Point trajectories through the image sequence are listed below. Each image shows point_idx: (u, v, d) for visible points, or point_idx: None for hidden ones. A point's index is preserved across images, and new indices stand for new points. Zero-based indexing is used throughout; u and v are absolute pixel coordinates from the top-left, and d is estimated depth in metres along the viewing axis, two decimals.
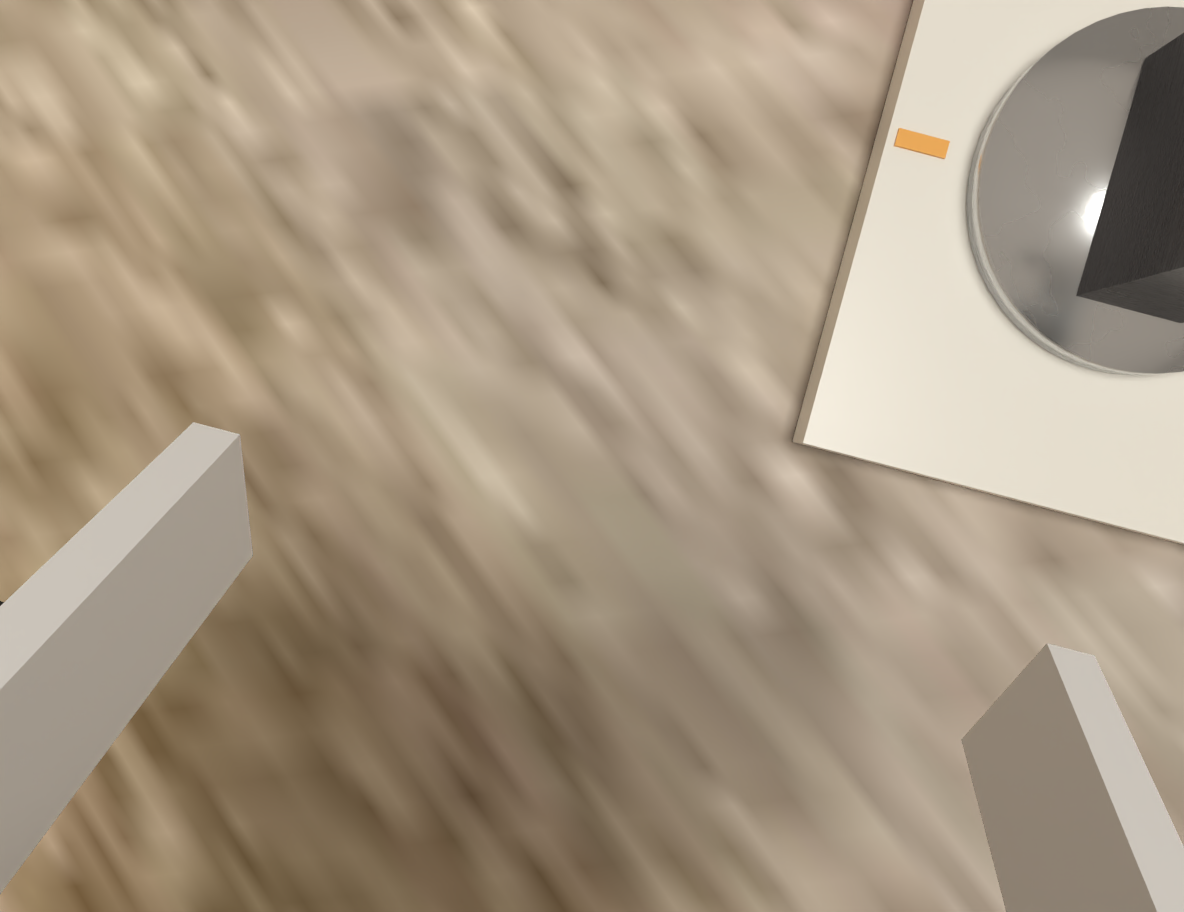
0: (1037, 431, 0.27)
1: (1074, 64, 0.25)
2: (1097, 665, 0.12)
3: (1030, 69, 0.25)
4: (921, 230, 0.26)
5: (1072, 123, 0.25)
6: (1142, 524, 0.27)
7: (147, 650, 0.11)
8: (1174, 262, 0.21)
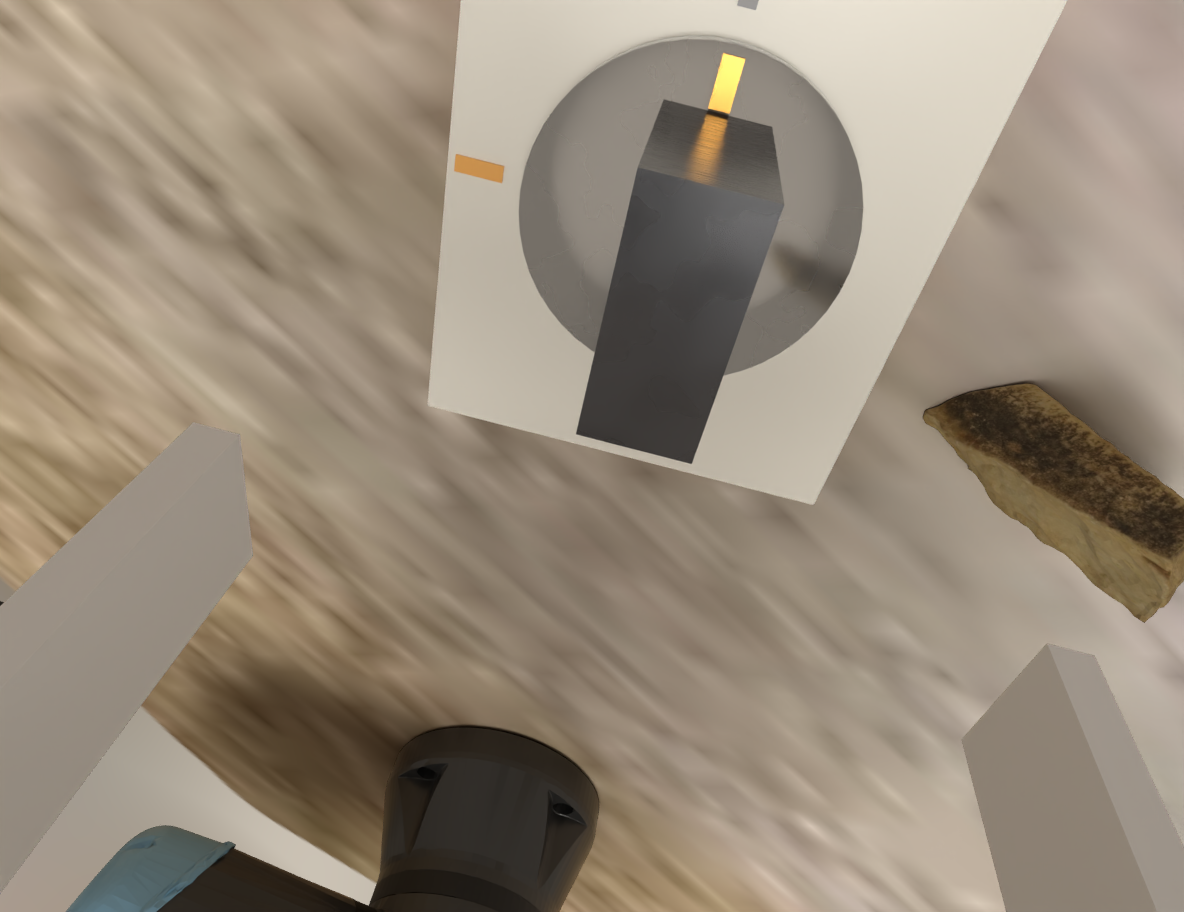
0: None
1: (594, 106, 0.25)
2: (1096, 665, 0.12)
3: None
4: (492, 246, 0.29)
5: (596, 167, 0.26)
6: (692, 468, 0.34)
7: (147, 651, 0.11)
8: None
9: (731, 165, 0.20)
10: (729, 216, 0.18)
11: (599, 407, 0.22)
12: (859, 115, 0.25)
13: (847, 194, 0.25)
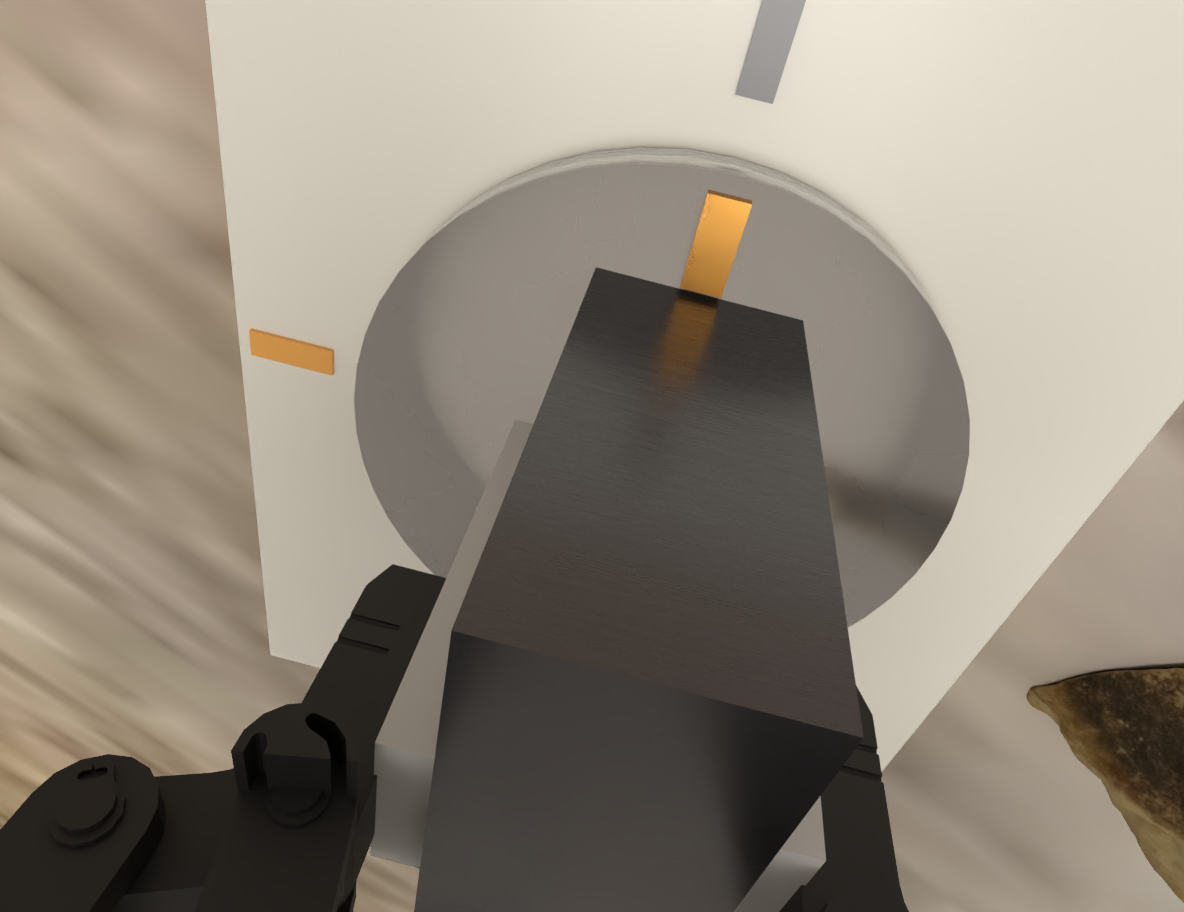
0: None
1: (468, 274, 0.13)
2: None
3: (394, 280, 0.14)
4: (332, 462, 0.18)
5: (482, 372, 0.14)
6: None
7: None
8: None
9: (718, 525, 0.08)
10: (712, 740, 0.07)
11: None
12: (966, 292, 0.13)
13: (941, 433, 0.14)
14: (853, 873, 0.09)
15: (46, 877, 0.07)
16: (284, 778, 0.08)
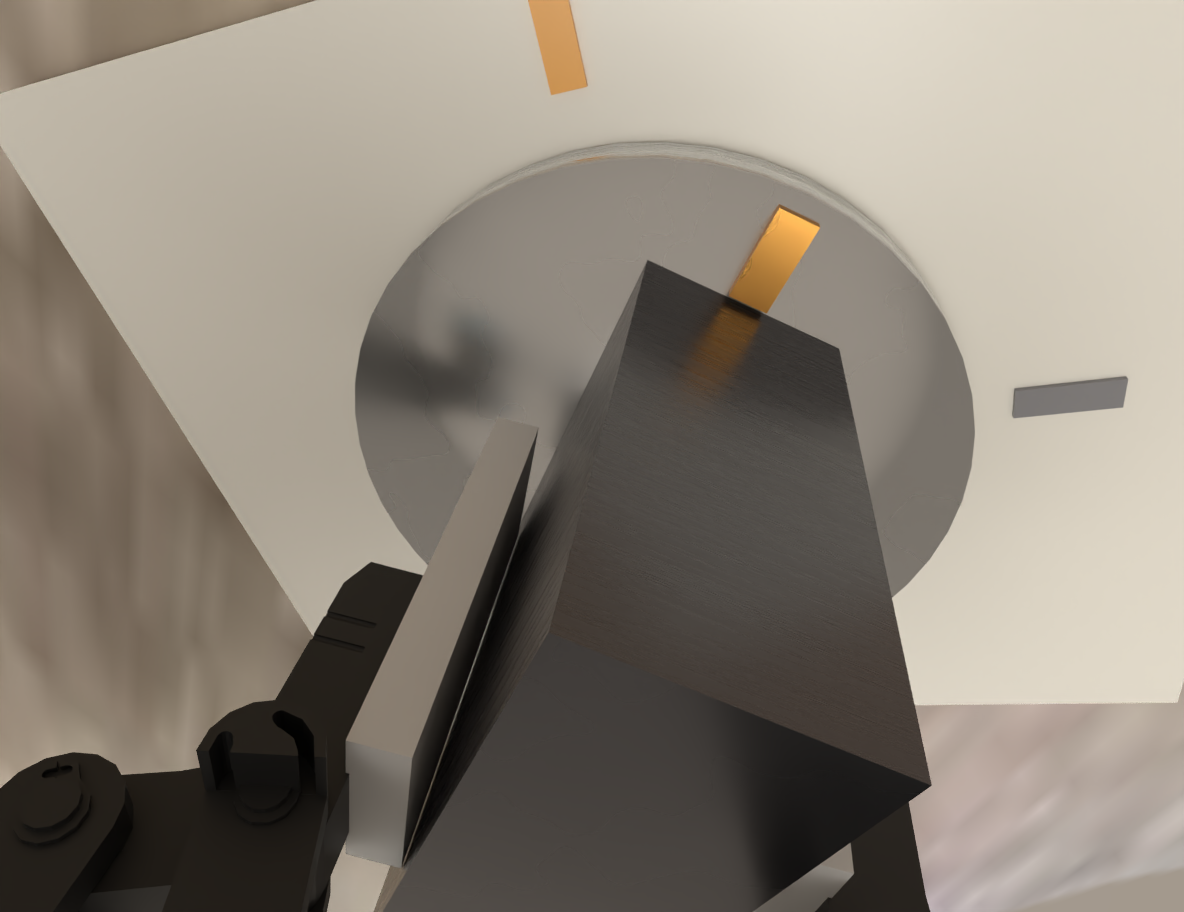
0: (280, 436, 0.18)
1: (513, 242, 0.13)
2: None
3: (432, 234, 0.13)
4: (410, 121, 0.13)
5: (504, 343, 0.14)
6: (285, 579, 0.21)
7: (485, 614, 0.12)
8: None
9: (784, 551, 0.08)
10: (779, 769, 0.07)
11: None
12: None
13: (941, 478, 0.14)
14: (879, 885, 0.09)
15: (10, 876, 0.07)
16: (252, 776, 0.08)
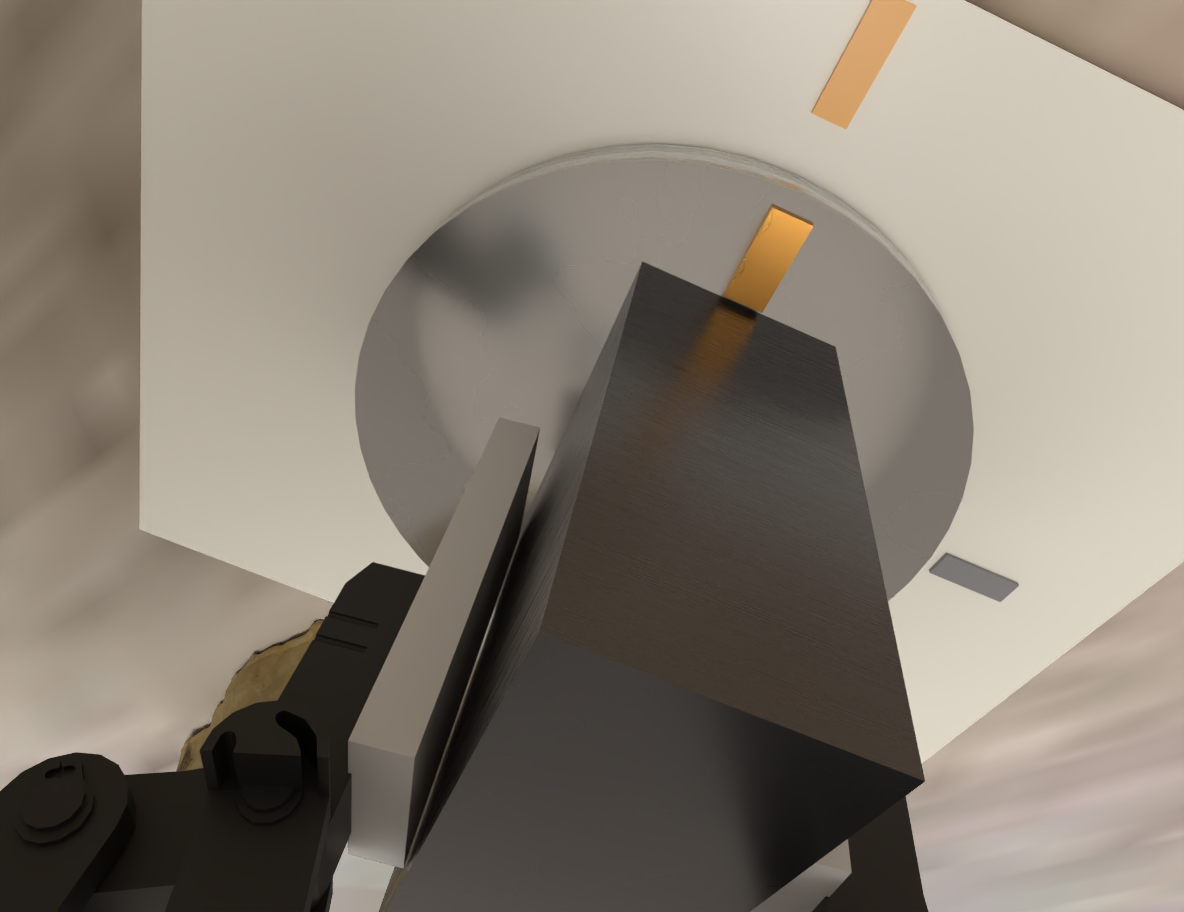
0: (267, 226, 0.15)
1: (508, 246, 0.13)
2: None
3: (428, 239, 0.13)
4: (666, 36, 0.12)
5: (502, 347, 0.14)
6: (152, 365, 0.17)
7: (486, 613, 0.12)
8: None
9: (778, 549, 0.08)
10: (772, 767, 0.07)
11: None
12: None
13: (940, 474, 0.14)
14: (877, 884, 0.09)
15: (13, 875, 0.07)
16: (255, 777, 0.08)
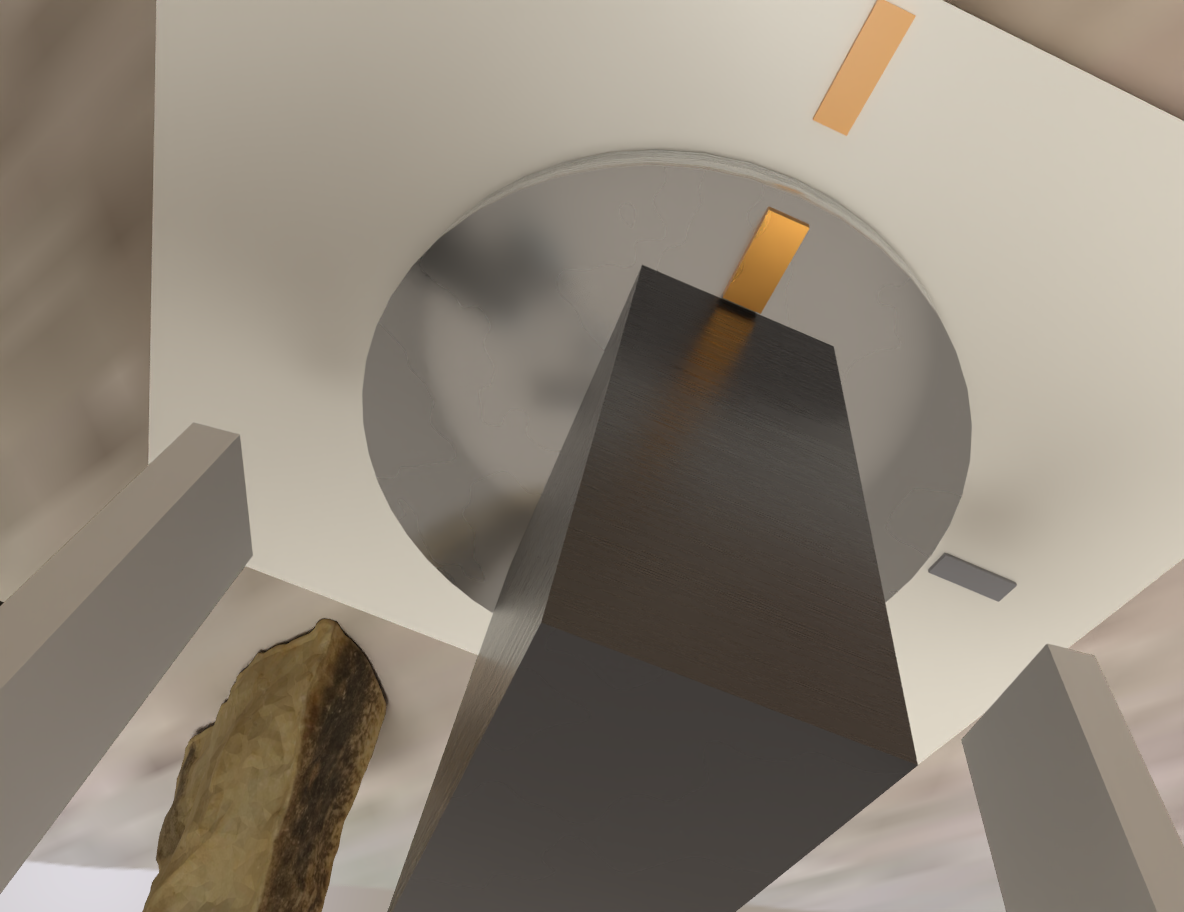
0: (277, 229, 0.15)
1: (511, 252, 0.13)
2: (1097, 665, 0.12)
3: (432, 246, 0.13)
4: (671, 44, 0.12)
5: (506, 350, 0.14)
6: (161, 365, 0.17)
7: (147, 651, 0.11)
8: (455, 720, 0.14)
9: (775, 543, 0.08)
10: (769, 753, 0.07)
11: None
12: None
13: (940, 471, 0.14)
14: None
15: None
16: None
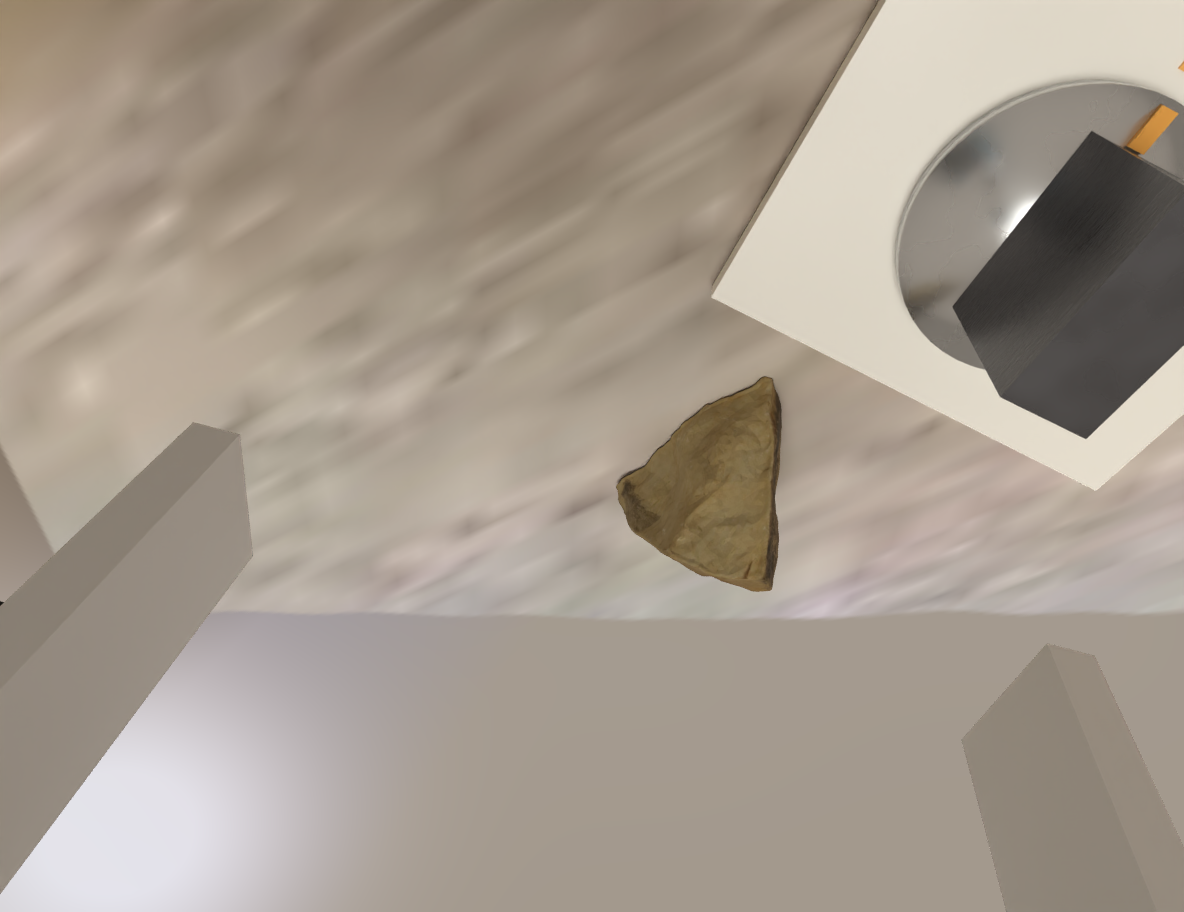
0: (889, 114, 0.31)
1: (1028, 123, 0.29)
2: (1097, 665, 0.12)
3: (989, 120, 0.29)
4: (1123, 33, 0.28)
5: (1005, 174, 0.30)
6: (781, 190, 0.33)
7: (147, 650, 0.11)
8: (978, 346, 0.30)
9: None
10: None
11: (1035, 377, 0.26)
12: None
13: None
14: None
15: None
16: None
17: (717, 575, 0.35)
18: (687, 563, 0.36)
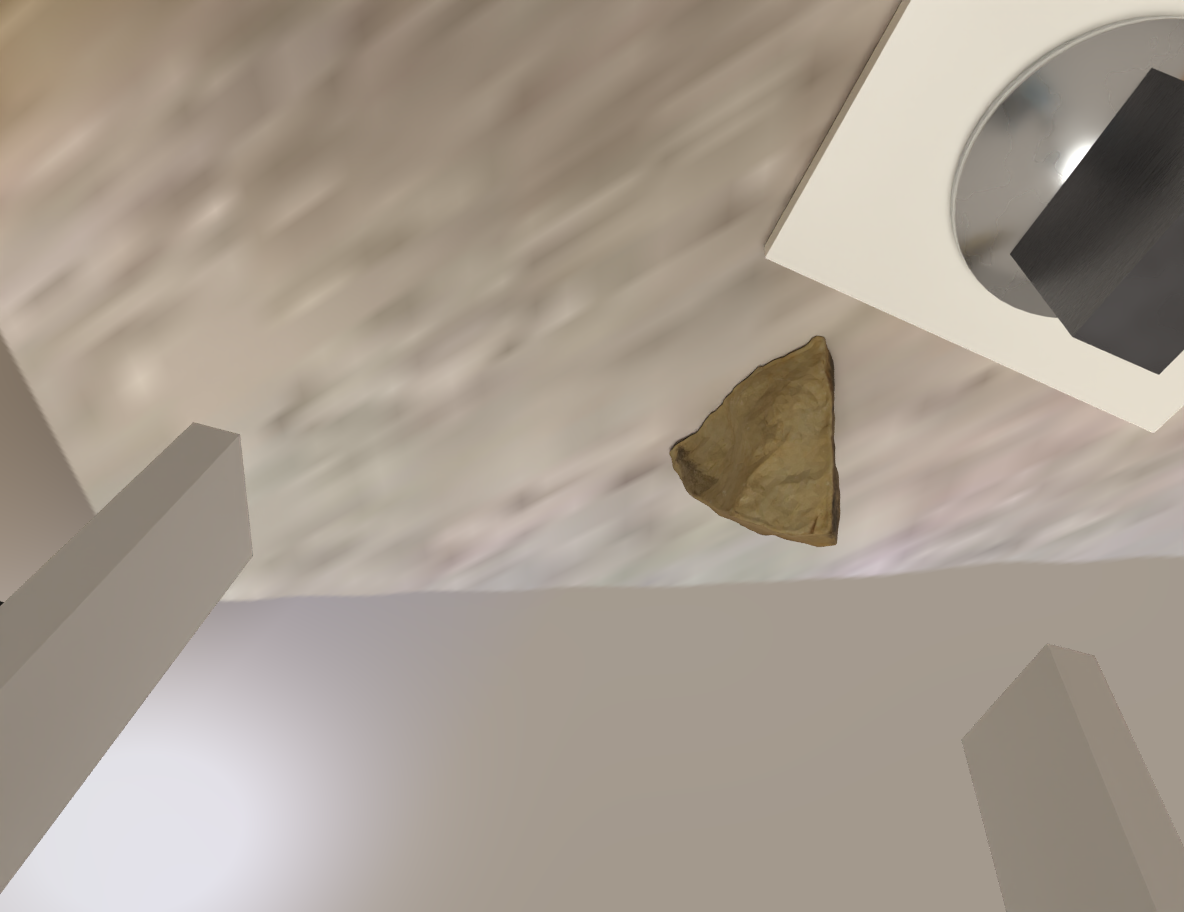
0: (944, 62, 0.31)
1: (1087, 63, 0.29)
2: (1097, 664, 0.12)
3: (1047, 62, 0.29)
4: None
5: (1063, 117, 0.30)
6: (835, 146, 0.33)
7: (146, 651, 0.11)
8: (1043, 289, 0.30)
9: None
10: None
11: (1108, 315, 0.27)
12: None
13: None
14: None
15: None
16: None
17: (783, 532, 0.36)
18: (752, 522, 0.37)
